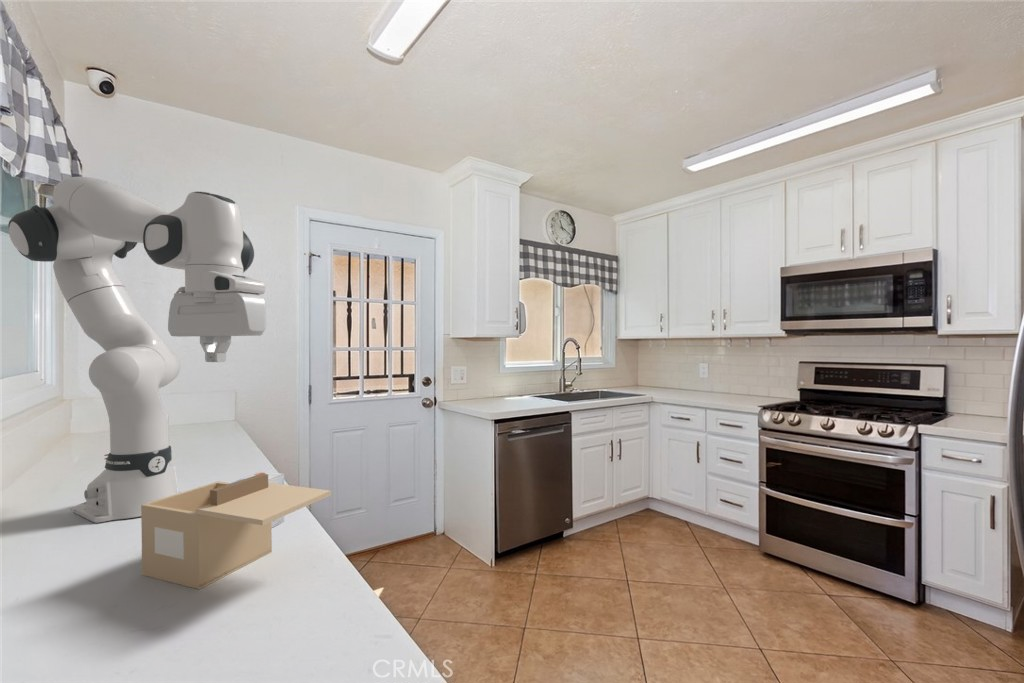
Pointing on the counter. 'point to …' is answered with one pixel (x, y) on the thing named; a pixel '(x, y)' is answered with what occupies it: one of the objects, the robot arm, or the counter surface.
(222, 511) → the carton lid
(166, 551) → the carton
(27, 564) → the counter surface
